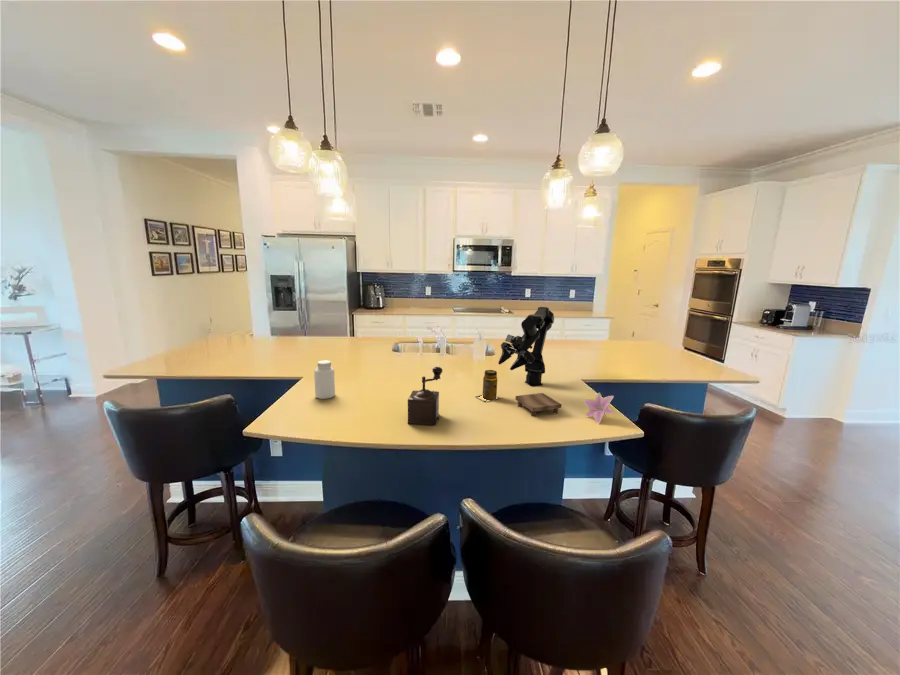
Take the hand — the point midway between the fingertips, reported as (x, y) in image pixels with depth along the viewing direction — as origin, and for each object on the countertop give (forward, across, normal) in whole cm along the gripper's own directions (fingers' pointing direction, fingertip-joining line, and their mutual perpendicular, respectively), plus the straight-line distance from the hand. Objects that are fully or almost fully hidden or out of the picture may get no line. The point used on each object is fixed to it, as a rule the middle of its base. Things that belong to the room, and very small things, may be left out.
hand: (504, 366), depth 160 cm
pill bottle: (+60, -27, -41) cm, 78 cm away
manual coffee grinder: (+38, +8, -18) cm, 43 cm away
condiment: (+15, 0, +4) cm, 16 cm away
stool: (+6, +18, +13) cm, 23 cm away
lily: (-5, +34, +25) cm, 42 cm away
